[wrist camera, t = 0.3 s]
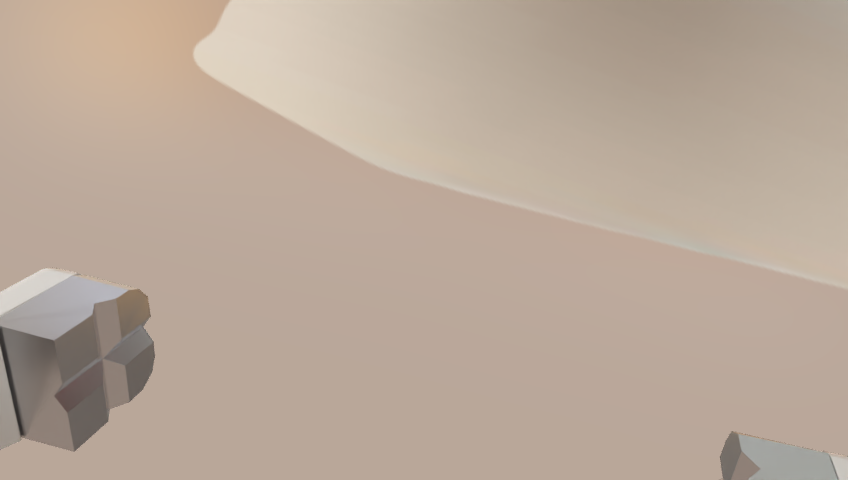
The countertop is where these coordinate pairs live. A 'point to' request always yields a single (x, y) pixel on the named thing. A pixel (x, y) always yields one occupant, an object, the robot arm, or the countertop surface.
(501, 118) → the countertop surface
